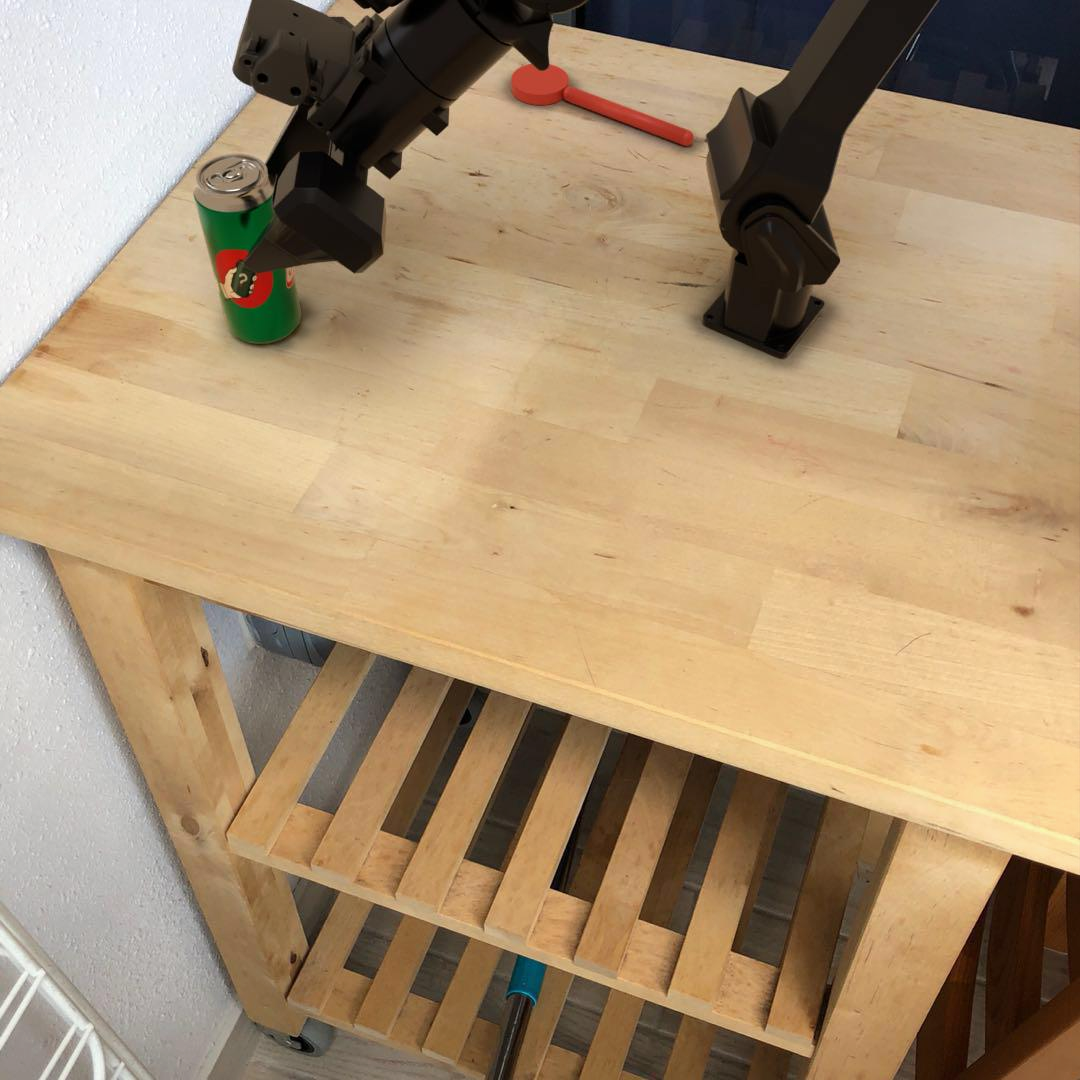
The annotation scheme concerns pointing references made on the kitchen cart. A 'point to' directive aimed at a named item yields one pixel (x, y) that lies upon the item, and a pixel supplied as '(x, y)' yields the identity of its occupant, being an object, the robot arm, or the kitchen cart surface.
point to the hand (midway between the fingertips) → (258, 220)
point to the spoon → (586, 101)
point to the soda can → (244, 248)
